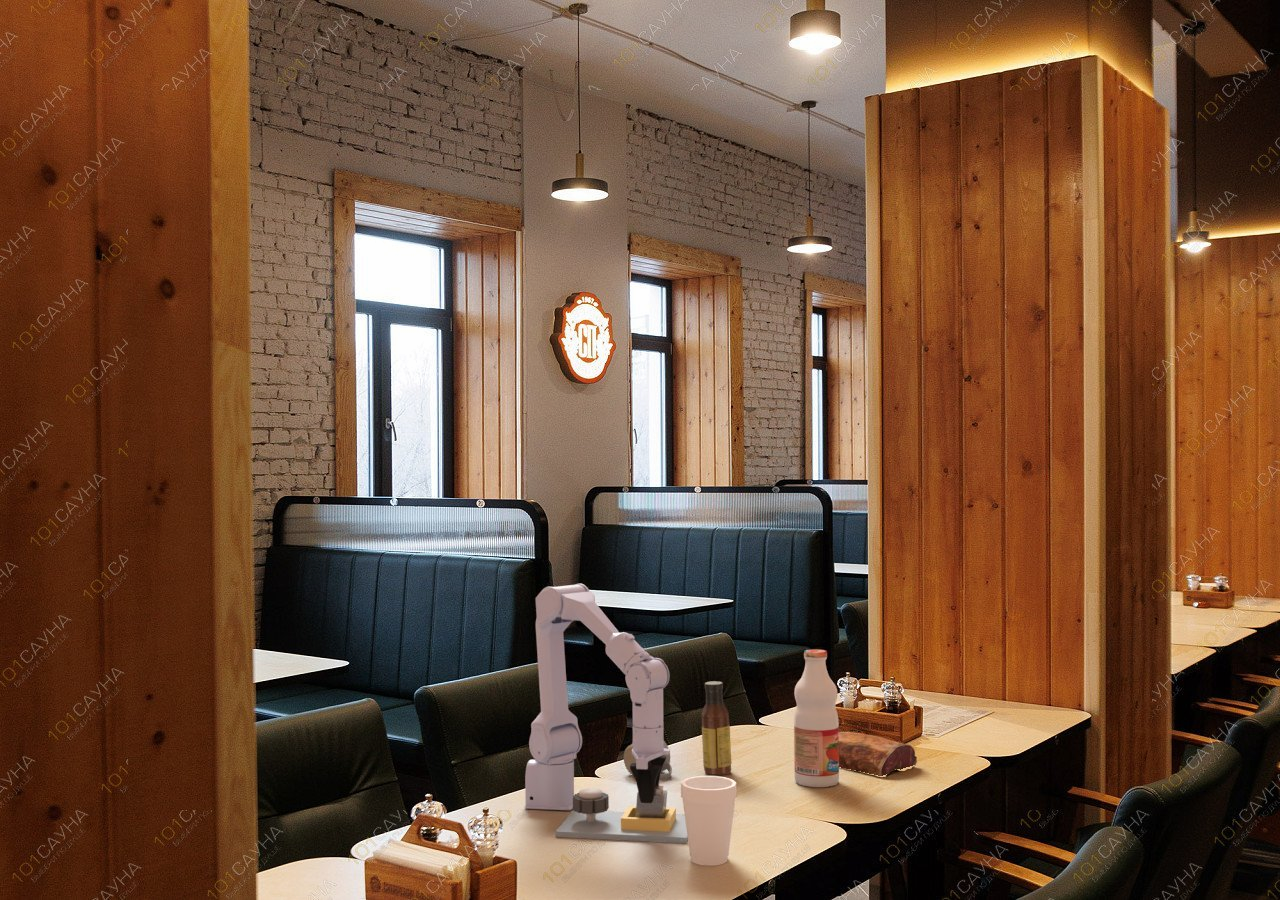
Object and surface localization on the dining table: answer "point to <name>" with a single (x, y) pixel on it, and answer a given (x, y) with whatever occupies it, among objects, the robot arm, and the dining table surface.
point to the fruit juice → (816, 724)
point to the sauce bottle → (715, 731)
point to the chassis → (625, 826)
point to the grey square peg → (653, 805)
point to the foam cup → (709, 817)
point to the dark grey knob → (590, 801)
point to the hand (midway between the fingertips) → (648, 799)
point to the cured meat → (873, 753)
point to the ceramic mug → (631, 759)
